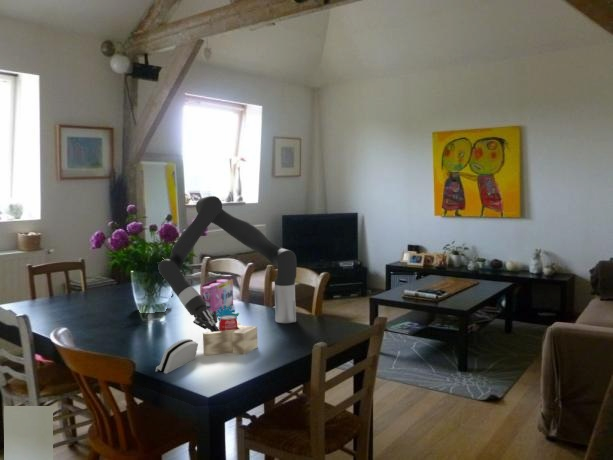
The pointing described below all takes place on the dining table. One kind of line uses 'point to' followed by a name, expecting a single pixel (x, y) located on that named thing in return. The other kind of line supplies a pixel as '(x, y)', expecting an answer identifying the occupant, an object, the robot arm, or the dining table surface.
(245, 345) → the v block
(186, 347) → the white zipper pouch
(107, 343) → the dining table surface
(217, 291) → the gum box
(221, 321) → the soda can
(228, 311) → the gear
